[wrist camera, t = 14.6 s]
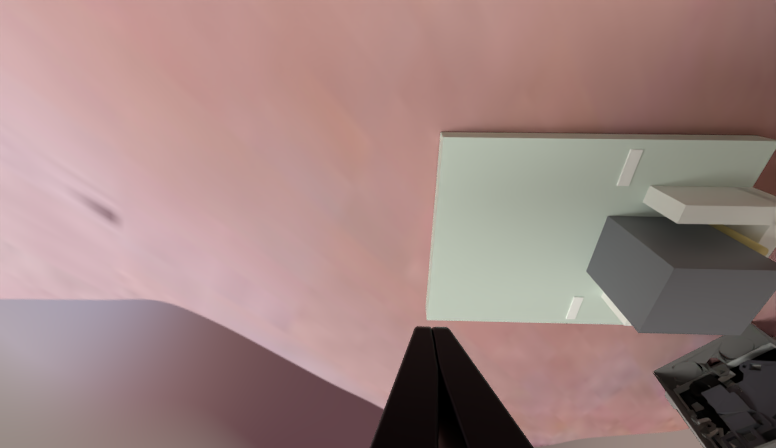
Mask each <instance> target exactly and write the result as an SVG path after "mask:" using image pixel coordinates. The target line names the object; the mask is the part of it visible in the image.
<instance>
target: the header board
mask: <svg viewBox="0 0 776 448" xmlns="http://www.w3.org/2000/svg"><path fill="white" fill-rule="evenodd" d="M775 149H776V140H774V139H770V138H765V137H761V136H757V135H671V134H582V133H494V132H440V144H439V156H438V168H437V180H436V191H435V203H434V215H433V227H432V238H431V250H430V262H429V274H428V285H427V297H426V316H427V320H446V321H489V322H532V323H575V324H618V325H625V326H632V325H631V323H630V322H629V321H628V320H627V319H626V318H625V316H624V315H623V314H622V313H621V312H620V310H619V309H618V308H617V307H616V306H615V305H614V303H613V302H612V301H611V300H610V299H609V298H608V296H607V295H606V294H605V293H604V292H603V291H602V289H601V288H600V287H599V286H598V285H597V284H596V282H595V281H594V280H593V279H592V278H591V276H590V275H589V274H588V273H587V272H586V270H587V268H588V265H589V262H590V260H591V257H592V255H593V252H594V250H595V247H596V245H597V242H598V239H599V237H600V234H601V232H602V229H603V227H604V224H605V222H606V219H607V217H608V216H646V217H667V218H669V219H670V220H672V221H674V222H675V223H677V224H708V225H710V226H712V227H714V228H715V229H717V230H719V231H721V232H723V233H724V234H726V235H728V236H730V237H732V238H733V239H735V240H737V241H739V242H740V243H742V244H744V245H746V246H748V247H749V248H751V249H753V250H755V251H756V252H758V253H760V254H762V255H764V256H765V257H767V258H768V257H769V256H770V255H771V253H772V252H773V250H774V249H775V248H776V196H774V195H771V194H769V193H766V192H764V191H761V190H759V189H756V188H753V186H754V184H755V182H756V181H757V179H758V177H759V176H760V174H761V172H762V171H763V169H764V167H765V166H766V164H767V163H768V161H769V159H770V158H771V156H772V154H773V153H774V151H775Z"/></svg>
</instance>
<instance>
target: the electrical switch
mask: <svg viewBox="0 0 776 448" xmlns="http://www.w3.org/2000/svg"><path fill="white" fill-rule="evenodd" d="M751 324H752V323H751ZM751 324H749V325H748V326H747V328H746V329H745V330H744V331H743V333H742V334H741V335H724V336H722V337H720V338H718V339H716V340H714V341H712V342H710V343H708V344H706V345H704V346H702V347H700V348H698V349H696V350H694V351H692V352H690V353H688V354H686V355H684V356H683V357H681V358H679V359H677V360H675V361H673V362H671V363H669V364H667V365H665V366H663V367H661V368H659V369H657V370H655V371H654V373H655V374H656V375H657V376H656V375H655V374H654V373H653V374H654V375H655V376H656V378H657V379H658V381H659V382H660V383H661V385H662V386H663V388H664V389H665V397H666V398H667V400H668V401H669V403H670V404H671V406H672V407H673V408H674V409H676V410H677V411H678V412H679V414H680V415H681V417H682V418H683V420H684V421H685V422H686V424H687V425H688V427H689V428H690V429H691V431H692V432H693V434H694V435H695V436H696V438H697V439H698V441H699V442H700V443H701V445H702V446H703V448H776V337H775V336H774V337H772V338H771V337H770V336H769V335H767V334H766V333H765V332H763V331H762V330H760V329H759V328H758V327H756V326H755V325H753V324H752V325H753V326H752V325H751ZM719 351H720V353H722V354H723V355H725V356H726V357H728V358H726V357H724V356H722V355H721V354H720V353H719ZM710 358H717V359H719V360H720V361H722V362H720V363H717V364H715V365H713V366H711V367H710V366H709V365H708V364H707V361H708V360H709V359H710ZM685 361H687V362H685ZM694 362H695V363H694ZM696 363H698V364H700V365H701V366H702V368H703V371H702V370H701V368H700V367H699V366H698V365H697V364H696ZM673 366H674V368H673ZM674 377H675V378H676V379H675V378H674Z"/></svg>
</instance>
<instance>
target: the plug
mask: <svg viewBox="0 0 776 448" xmlns="http://www.w3.org/2000/svg"><path fill="white" fill-rule="evenodd" d="M586 272H587V273H588V274H589V275H590V276H591V278H592V279H593V280H594V281H595V282H596V284H597V285H598V286H599V287H600V288H601V289H602V291H603V292H604V293H605V294H606V295H607V296H608V298H609V299H610V300H611V301H612V302H613V303H614V305H615V306H616V307H617V308H618V309H619V310H620V312H621V313H622V314H623V315H624V316H625V318H626V319H627V320H628V321H629V322H630V323H631V325H632V326H633V327H634V328H635V329H636V330H637V332H638V333H666V334H705V335H741V334H742V333H743V331H744V330H745V329H746V328H747V326H748V325H749V324H750V323H751V321H752V320H753V319H754V317H755V316H756V315H757V314H758V312H759V311H760V310H761V309H762V307H763V306H764V305H765V303H766V302H767V301H768V300H769V298H770V297H771V296H772V295H773V293H774V292H775V291H776V262H774V261H772V260H771V259H769V258H767V257H765V256H764V255H762V254H760V253H758V252H756V251H755V250H753V249H751V248H749V247H748V246H746V245H744V244H742V243H740V242H739V241H737V240H735V239H733V238H732V237H730V236H728V235H726V234H724V233H723V232H721V231H719V230H717V229H715V228H714V227H712V226H710V225H708V224H677V223H675V222H674V221H672V220H670V219H669V218H667V217H646V216H608V217H607V219H606V222H605V224H604V227H603V229H602V232H601V234H600V237H599V239H598V242H597V245H596V247H595V250H594V252H593V255H592V257H591V260H590V262H589V265H588V268H587V270H586Z"/></svg>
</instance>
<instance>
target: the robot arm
mask: <svg viewBox="0 0 776 448" xmlns="http://www.w3.org/2000/svg"><path fill="white" fill-rule="evenodd" d="M370 448H533V446H532V445H531V443H530V442H529V440H528V439H527V438H526V436H525V435H524V433H523V432H522V431H521V429H520V428H519V426H518V425H517V424H516V422H515V421H514V419H513V418H512V417H511V415H510V414H509V412H508V411H507V409H506V408H505V407H504V405H503V404H502V402H501V401H500V400H499V398H498V397H497V395H496V394H495V393H494V391H493V390H492V388H491V387H490V385H489V384H488V383H487V381H486V380H485V378H484V377H483V376H482V374H481V373H480V371H479V370H478V369H477V367H476V366H475V364H474V363H473V362H472V360H471V359H470V357H469V356H468V354H467V353H466V352H465V350H464V349H463V347H462V346H461V345H460V343H459V342H458V340H457V339H456V338H455V336H454V335H453V333H452V332H451V331H450V329H449V328H447V327H433V328H432V329H431V327H422V326H417V327H415V329H414V331H413V334H412V337H411V339H410V342H409V345H408V347H407V350H406V353H405V355H404V358H403V361H402V363H401V366H400V369H399V371H398V374H397V377H396V379H395V382H394V385H393V387H392V390H391V392H390V395H389V398H388V400H387V403H386V406H385V408H384V411H383V414H382V417H381V419H380V422H379V425H378V427H377V430H376V432H375V435H374V438H373V440H372V443H371V446H370Z"/></svg>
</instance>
